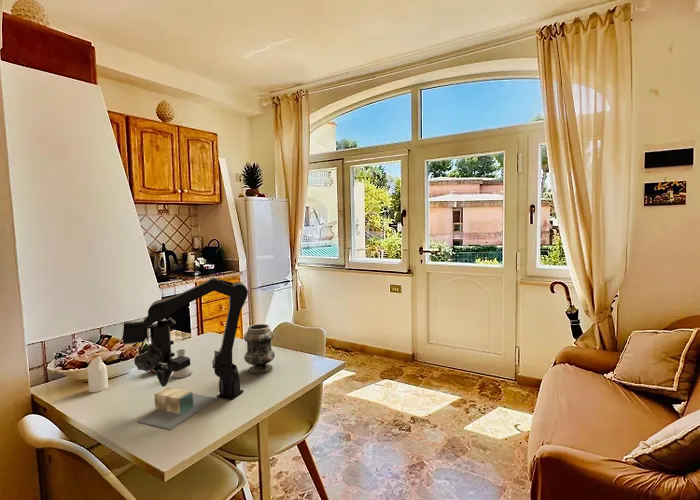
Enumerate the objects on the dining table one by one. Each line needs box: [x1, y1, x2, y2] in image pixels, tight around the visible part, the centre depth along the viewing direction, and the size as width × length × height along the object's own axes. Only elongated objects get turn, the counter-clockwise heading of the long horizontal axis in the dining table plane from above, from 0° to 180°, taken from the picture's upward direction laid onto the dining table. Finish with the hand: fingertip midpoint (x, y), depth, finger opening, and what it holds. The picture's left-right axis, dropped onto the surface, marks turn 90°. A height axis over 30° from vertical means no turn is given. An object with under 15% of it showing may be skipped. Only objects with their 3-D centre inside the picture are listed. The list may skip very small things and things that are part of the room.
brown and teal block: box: [154, 386, 194, 414], centre depth 122 cm, size 5×5×11 cm
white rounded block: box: [86, 356, 109, 393], centre depth 138 cm, size 6×12×6 cm
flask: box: [171, 348, 194, 379], centre depth 149 cm, size 7×7×10 cm
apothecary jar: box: [243, 323, 276, 375], centre depth 152 cm, size 12×12×18 cm
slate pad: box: [136, 393, 219, 431], centre depth 122 cm, size 14×20×1 cm
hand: (163, 386), depth 123 cm, fingers closed
